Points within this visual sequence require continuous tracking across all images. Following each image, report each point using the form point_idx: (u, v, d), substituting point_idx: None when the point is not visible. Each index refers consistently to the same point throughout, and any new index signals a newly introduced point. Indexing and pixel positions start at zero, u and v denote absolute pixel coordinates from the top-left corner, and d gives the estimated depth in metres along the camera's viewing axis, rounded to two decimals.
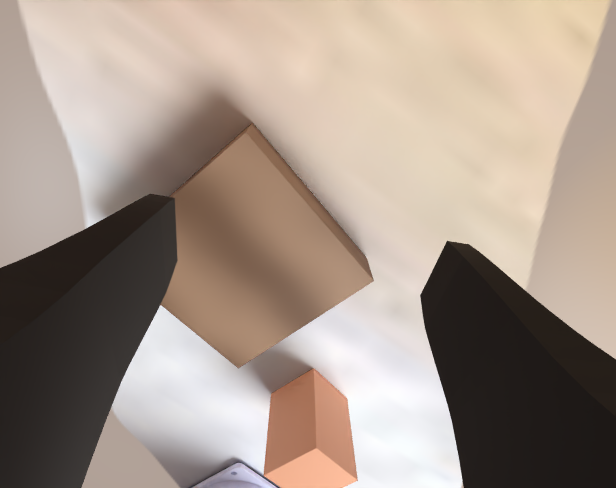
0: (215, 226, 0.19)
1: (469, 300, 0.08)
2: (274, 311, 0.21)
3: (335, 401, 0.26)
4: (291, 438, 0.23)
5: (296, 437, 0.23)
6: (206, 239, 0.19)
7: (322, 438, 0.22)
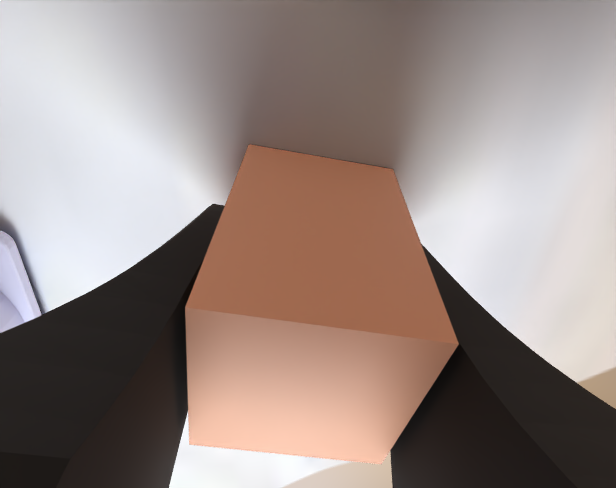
0: None
1: None
2: None
3: None
4: (328, 261, 0.07)
5: (351, 269, 0.06)
6: None
7: None
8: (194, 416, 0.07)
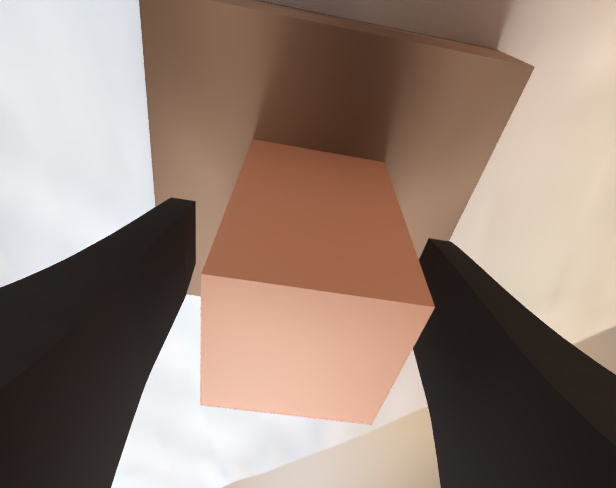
0: (350, 127, 0.11)
1: (447, 297, 0.08)
2: None
3: None
4: (323, 240, 0.07)
5: (344, 247, 0.07)
6: (319, 129, 0.11)
7: None
8: (205, 377, 0.08)
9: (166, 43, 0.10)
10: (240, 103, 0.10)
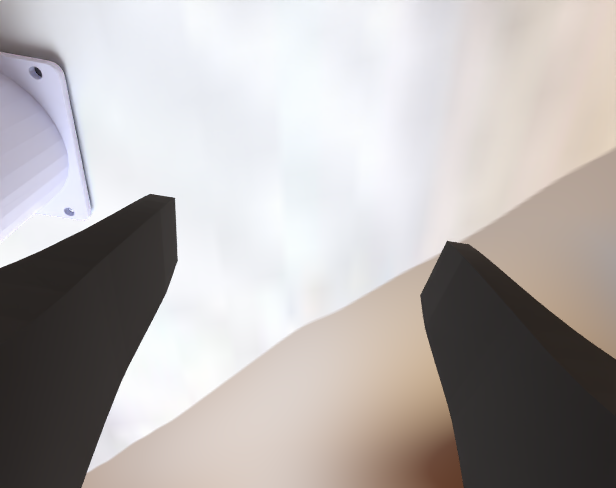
0: None
1: (468, 300, 0.08)
2: None
3: None
4: None
5: None
6: None
7: None
8: None
9: None
10: None
